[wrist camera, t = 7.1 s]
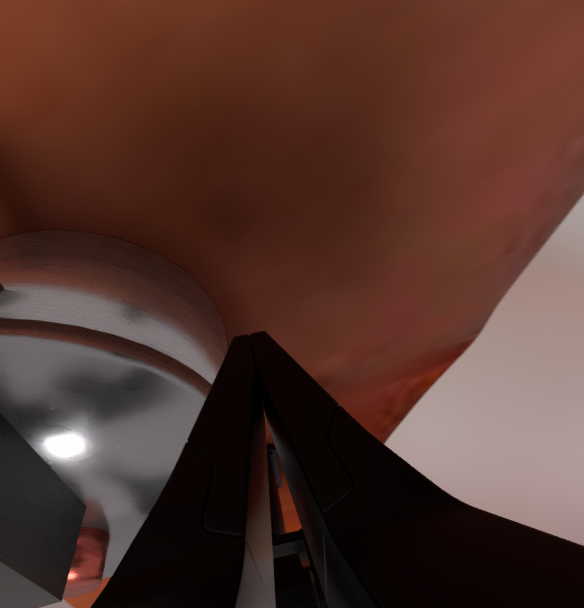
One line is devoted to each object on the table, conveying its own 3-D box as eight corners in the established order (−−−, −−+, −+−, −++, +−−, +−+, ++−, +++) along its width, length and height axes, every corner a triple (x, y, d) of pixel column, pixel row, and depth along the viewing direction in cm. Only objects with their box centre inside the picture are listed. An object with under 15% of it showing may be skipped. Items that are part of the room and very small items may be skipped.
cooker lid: (262, 509, 19) (276, 602, 16) (-39, 591, 17) (-98, 718, 14) (168, 163, 8) (147, 224, 5) (-683, 271, 6) (-1703, 501, 3)
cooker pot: (243, 406, 25) (256, 503, 19) (24, 455, 23) (-34, 580, 17) (169, 100, 14) (148, 120, 8) (-276, 143, 12) (-722, 210, 6)
